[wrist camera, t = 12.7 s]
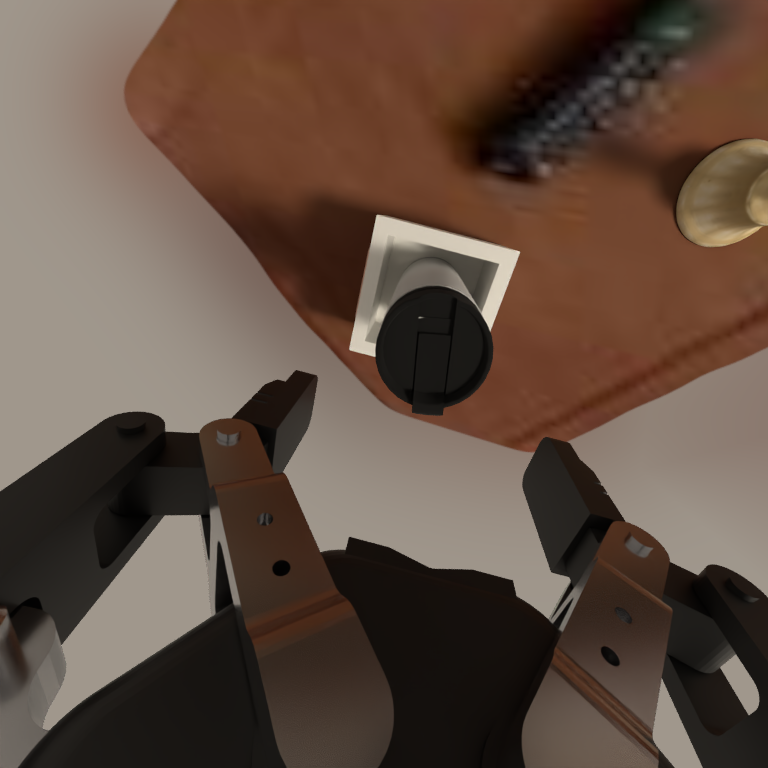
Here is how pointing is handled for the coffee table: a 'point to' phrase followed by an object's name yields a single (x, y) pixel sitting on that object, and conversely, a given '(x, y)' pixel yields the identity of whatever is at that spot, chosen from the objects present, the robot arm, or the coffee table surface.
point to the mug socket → (414, 241)
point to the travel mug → (433, 339)
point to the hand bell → (726, 195)
